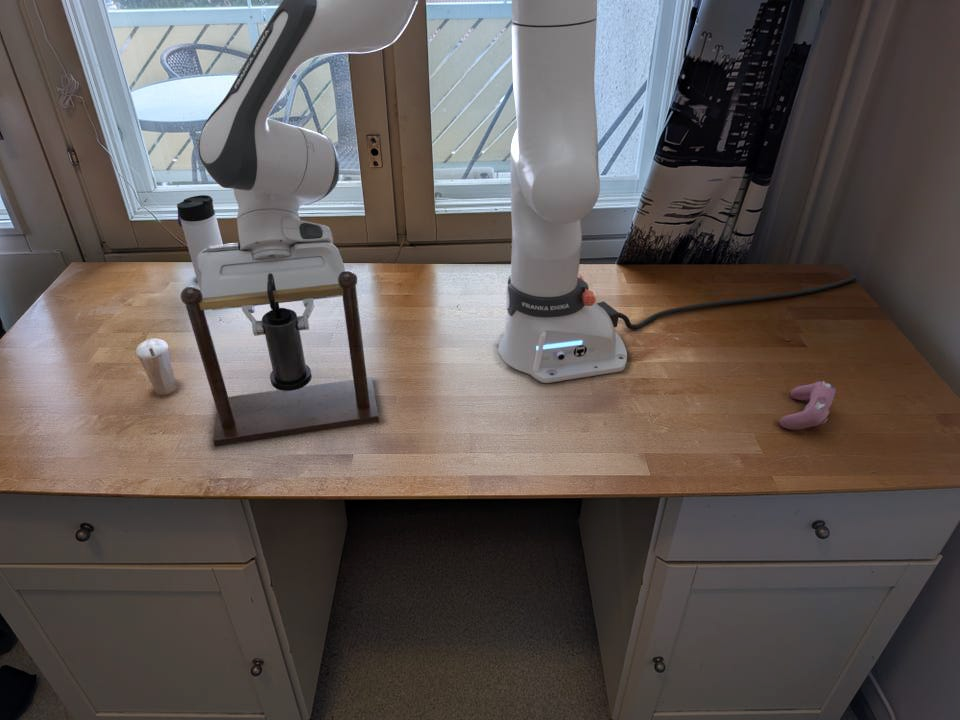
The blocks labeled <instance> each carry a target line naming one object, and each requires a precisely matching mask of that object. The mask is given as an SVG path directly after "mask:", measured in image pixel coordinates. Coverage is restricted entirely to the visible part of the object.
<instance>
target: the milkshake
mask: <svg viewBox="0 0 960 720" xmlns="http://www.w3.org/2000/svg"><path fill="white" fill-rule="evenodd" d="M135 354H136V355H137V357H138V359H139V362H140V363H141V365H142V367H143V370H144V371H145V373H146V376H147V377H148V379H149V382H150V384H151V386H152V388H153V390H154V393H155V394H156V395H159V396H168V395H170V394H172V393H174V392H175V391H176V390H177V388H178V386H177V383H176V379H175V373H174V369H173V367H172V359H171V355H170V349H169V345H168V343H167V341H165V340H163V339H161V338H155V337H153V338H149V339H145V340H144V341H142V342H140V343H139V344H138V345H137V347H136V349H135Z"/></svg>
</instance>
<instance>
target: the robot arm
mask: <svg viewBox="0 0 960 720" xmlns="http://www.w3.org/2000/svg"><path fill="white" fill-rule="evenodd" d="M418 3H419V0H282V1H281V2H280V4H279V5H278V6H277V8H276V9H275V11H274V13H273V14H272V16H271V17H270V19H269V21H268V22H267V24H266V26H265V27H264V29H263V31H262V32H261V34H260V35H259V38H258V39H257V42H256V43H255V45H254V46H253V48H252V50H251V52H250V54H249V55H248V57H247V58H246V60H245V63H244V64H243V66H242V67H241V69H240V71H239V73H238V74H237V76H236V78H235V80H234V82H233V84H232V85H231V87H230V89H229V90H228V92H227V93H226V95H225V97H224V98H223V99H222V101H220V103H218V104H219V105H217V107H216V108H215V109H214V110H213V112H211V114H210V115H209V117H208V118H207V120H206V121H205V123H204V124H203V126H202V128H201V132H200V135H199V139H198V156H199V157H198V158H199V159H200V161H201V164H202V165H203V167H204V169H205V170H206V171H207V173H208V174H209V176H210V177H211V178H212V179H213V180H214V181H215V183H217V184H218V185H219V186H220V187H222V188H223V189H230V190H233V195H234V198H235V200H236V203H237V207H238V209H237V215H236V216H237V217H236V223H237V224H236V225H237V235H238V242H232V243H225V244H223V245H210V246H207V248H206V249H204V250H202V251H201V252H200V253H199V254H198V257H197V263H198V270H199V272H200V273H201V274H202V278H201V293H202V298H208V297H218V296H227V295H236V294H246V293H255V292H265V291H267V282H268V274H270V273H271V274H273V277H274V282H275V287H276V290H283V289H293V288H302V287H312V286H321V285H331V284H339V283H338V276H339V274H340V273H341V272H343V271H345V270H346V268H345V265H344V261H343V258H342V255H341V253H340V250H339V249H338V247H337V246H336V245H335V244H334V237H333V233H332V231H331V229H330V227H329V226H327V225H325V224H320V223H316V222H311V221H305V220H302V219H301V218H300V215H299V208H300V207H301V206H308V205H311V204H314V203H317V202H319V201H321V200H323V199H324V198H326V197H327V196H328V195H329V194H330V193H332V191H333V190H334V189H335V188H336V186H337V184H338V181H339V176H340V161H339V155H338V152H337V150H336V147H335V144H334V143H333V142H332V140H331V139H330V138H329V137H328V136H326V135H323V134H321V133H319V132H316V131H313V130H311V129H307V128H304V127H301V126H297V125H292V124H290V123H289V124H288V123H286V122H282V121H279V120H277V119H273V118H269V117H270V115H271V113H272V112H273V109H274V107H275V105H277V103H278V101H279V100H280V98H281V96H282V94H283V93H284V91H285V89H286V87H287V86H288V84H289V83H290V81H291V79H292V78H293V76H294V74H295V73H296V71H297V70H298V69H299V68H300V67H301V66H302V65H304V64H305V63H306V62H309V61H310V60H312V59H314V58H317V57H321V56H322V57H323V56H326V55H333V54H334V55H335V54H367V53H372V52H377V51H379V50H383V49H384V48H387V47H389V46H391V45H393V44H394V43H395V42H396V41H397V40H398V39H399V38H400V36H401V35H402V34H403V32H404V31H405V29H406V28H407V26H408V24H409V22H410V20H411V18H412V16H413V14H414V12H415V9H416V7H417V5H418ZM597 20H598V0H511V51H512V86H513V87H512V89H513V96H514V105H515V106H514V107H515V116H516V129H515V132H514V134H513V137H512V141H511V147H510V212H511V216H510V217H511V256H510V257H511V258H510V274H509V276H508V279H507V286H506V293H505V305H506V310H507V315H506V320H505V325H504V329H503V333H502V336H501V339H500V342H499V344H498V347H497V350H498V354H499V357H500V358H501V360H502V361H503V362H504V363H505V364H506V365H508V366H509V367H511V368H513V369H515V370H516V371H519V372H522V373H525V374H527V375H530V376H531V377H533V378H534V379H535V380H537V381H538V382H540V383H543V384H551V383H555V382H556V383H557V382H564V381H569V380H575V379H581V378H589V377H594V376H602V375H606V374H614V373H618V372H619V373H620V372H622V371H624V370H625V368H626V366H627V363H628V353H627V348H626V346H625V343H624V341H623V339H622V338H621V336H620V334H618V333H617V331H616V329H615V328H618V324H619V319H621V320H623V322H624V324H625V326H626V328H628V329H629V330H633V331H635V330H639V329H641V328H643V327H645V326H647V325H649V324H650V323H651V322H653V321H655V320H657V319H659V318H661V317H664V316H667V315H672V314H676V313H682V312H687V311H693V310H698V309H705V308H712V307H719V306H726V305H733V304H742V303H749V302H750V303H752V302H759V301H768V300H775V299H781V298H782V299H783V298H790V297H796V296H802V295H807V294H811V293H816V292H821V291H825V290H828V289H832V288H836V287H839V286H842V285H845V284H848V283H851V282H854V281H856V280H857V277H856V275H852V276H850V277H847V278H844V279H840V280H838V281H835V282H832V283H827V284H824V285H820V286H819V285H818V286H815V287H811V288H806V289H800V290H795V291H787V292H782V293H773V294H767V295H757V296H750V297H741V298H740V297H739V298H733V299H732V298H731V299H725V300H717V301H709V302H703V303H697V304H690V305H685V306H680V307H679V306H678V307H675V308H670V309H666V310H665V309H664V310H663V311H659V312H656V313H654V314H652V315H650V316H649V317H647V318H646V319H645V320H643V321H641V322H639V323H636V324H632V323H631V321H630V318H629V317H628V316H627V315H625V314H624V313H622V312H618V311H617V310H616V309H615V308H614V307H612V306H611V305H610V304H608V303H607V302H606V301H605V300H604V301H599V302H597V300H596V296H595V294H594V292H593V291H592V290H589V289H590V288H589V285H588V283H587V282H586V281H585V279H584V278H583V276H582V274H579V272H580V271H579V270H580V261H581V251H582V245H583V244H582V243H583V235H582V225H581V224H582V223H581V219H584V218H585V217H586V216H588V214H590V213H591V211H592V210H593V209H594V207H595V206H596V203H597V202H598V199H599V197H600V192H601V180H600V168H599V141H598V140H599V139H598V122H597V121H598V120H597V119H598V118H597V106H596V97H595V96H596V95H595V93H596V92H595V70H596V69H595V68H596V67H595V66H596V44H597V43H596V42H597V24H598V23H597V22H598V21H597ZM204 252H208V253H204ZM339 297H341V298H342V295H337V296H328V297H318V298H309V299H300V300H291V301H282V302H278V303H279V304H284V303H293V302H294V303H295V302H302V303H303V305H304V311H303V313H302V315H299V316H298V315H297V322H298V330H299V331H300V332H301V331H309V330H310V324H309V319H310V317H311V315H312V312H313V310H314V308H315V301H314V300H321V299H322V300H323V299H331V298H339ZM266 305H270V303H264V304H255V305H245V306H236V307H227V308H218V309H211V310H212V311H219V310H229V309H238V308H241V311H242V312H243V314H244V315H245V317H246V318H247V320H249V322H250V323H251V327H252V334H253V336H254V337H257V336H265V333H264V328H263V323H262V320H257V319H256V318H255V316H254V315H253V314H254V313H256V312H255V307H256V306H266Z"/></svg>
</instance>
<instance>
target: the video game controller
mask: <svg viewBox="0 0 960 720" xmlns="http://www.w3.org/2000/svg"><path fill="white" fill-rule="evenodd" d="M836 392H837V389H836V388H835V387H834V386H833V385H832V384H830V383H827V382H825V380H823V381H816V382H813V383H809V384H804V385H799V386H796V387H794V388H792V390H791V391H790V396H791V398H792V399H794V400H796V401H804V402H807V401H809V402H808V403H807V404H806V405H805V407H804V409H803V410H801V411H799V412H795V413H790V414H786V415H784V416H782V417H781V418H780V420H779V424H780V426H781V428H784V429H787V430H792V431H798V430H804V429H808V428H811V427H812V428H813V427H817V426H819V425H823V424H826V423H827V421H828V416H829V414H830V407H831V405H832V403H833V401H834V399H835V394H836Z"/></svg>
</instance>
